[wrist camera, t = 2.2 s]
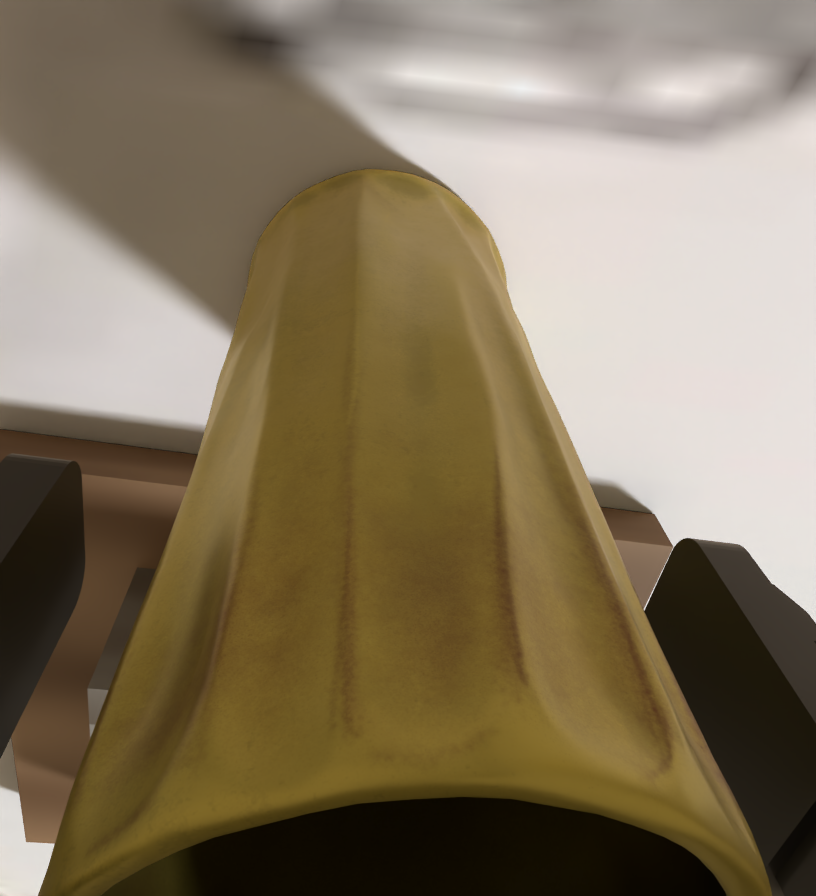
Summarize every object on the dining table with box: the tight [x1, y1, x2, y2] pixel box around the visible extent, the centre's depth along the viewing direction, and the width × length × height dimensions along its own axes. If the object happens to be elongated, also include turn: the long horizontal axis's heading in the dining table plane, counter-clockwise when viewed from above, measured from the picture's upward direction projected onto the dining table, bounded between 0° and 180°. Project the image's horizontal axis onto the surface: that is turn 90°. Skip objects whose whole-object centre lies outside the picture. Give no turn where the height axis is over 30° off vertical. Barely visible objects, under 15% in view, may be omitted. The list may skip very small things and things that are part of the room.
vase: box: [38, 169, 772, 896], centre depth 11 cm, size 6×6×14 cm
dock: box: [0, 429, 673, 843], centre depth 21 cm, size 16×18×6 cm
